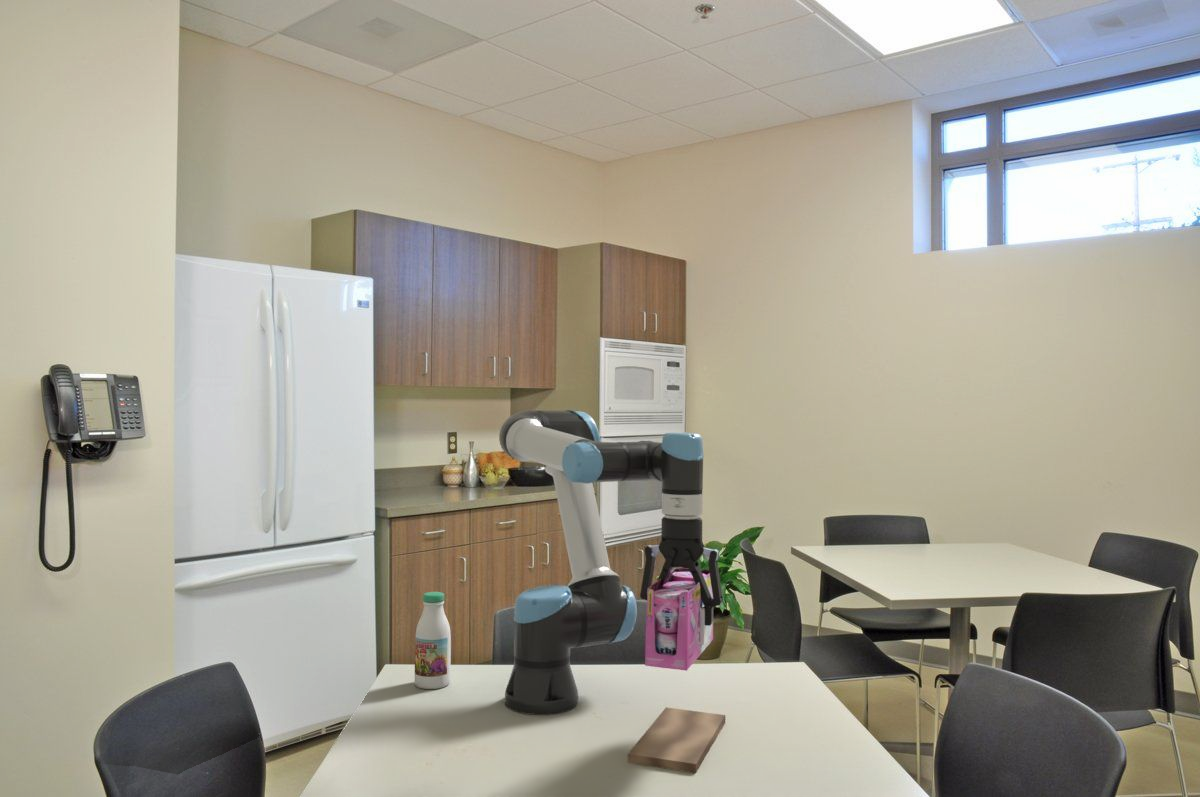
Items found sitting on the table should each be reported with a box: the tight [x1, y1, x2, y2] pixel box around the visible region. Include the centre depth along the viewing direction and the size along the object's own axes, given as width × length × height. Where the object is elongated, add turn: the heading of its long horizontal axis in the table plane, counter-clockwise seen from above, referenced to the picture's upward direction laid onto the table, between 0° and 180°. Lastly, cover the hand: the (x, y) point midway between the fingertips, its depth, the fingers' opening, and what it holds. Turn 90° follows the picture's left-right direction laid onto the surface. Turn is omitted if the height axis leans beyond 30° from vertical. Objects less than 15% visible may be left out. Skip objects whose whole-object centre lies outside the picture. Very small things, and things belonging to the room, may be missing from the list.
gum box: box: [644, 567, 714, 672], centre depth 158 cm, size 24×8×14 cm, turn 161°
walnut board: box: [627, 706, 726, 774], centre depth 158 cm, size 12×25×2 cm, turn 160°
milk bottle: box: [414, 591, 452, 690], centre depth 189 cm, size 8×8×20 cm
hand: (680, 640), depth 158 cm, fingers closed on gum box, 8 cm apart
